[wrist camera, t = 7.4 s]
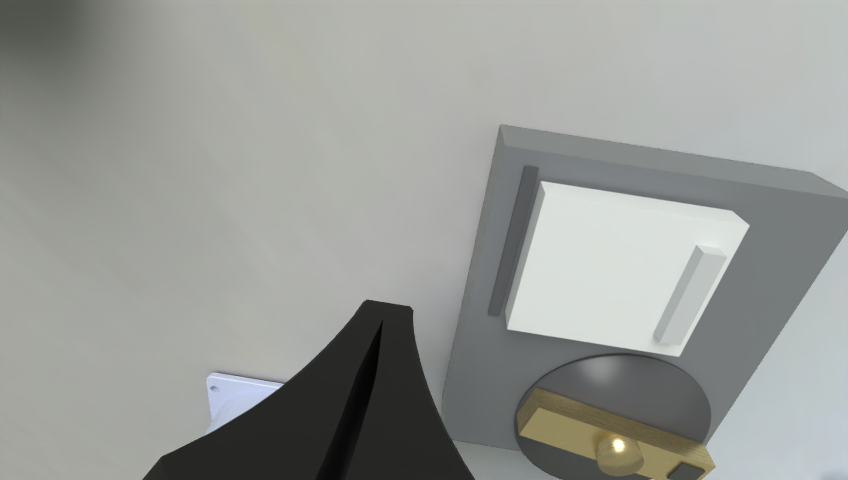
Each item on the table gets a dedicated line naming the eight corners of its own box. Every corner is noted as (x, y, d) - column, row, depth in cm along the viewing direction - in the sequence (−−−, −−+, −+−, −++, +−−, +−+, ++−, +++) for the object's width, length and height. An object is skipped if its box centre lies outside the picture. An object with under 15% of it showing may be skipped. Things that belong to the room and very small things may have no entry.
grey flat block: (653, 447, 27) (673, 499, 25) (438, 412, 28) (435, 460, 25) (811, 172, 19) (870, 203, 16) (500, 124, 19) (505, 147, 16)
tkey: (516, 414, 22) (520, 446, 21) (535, 387, 22) (540, 418, 20) (679, 468, 23) (694, 502, 22) (704, 444, 22) (721, 478, 21)
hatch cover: (667, 337, 19) (685, 367, 18) (505, 311, 20) (507, 338, 18) (731, 210, 17) (759, 233, 15) (540, 180, 17) (547, 200, 15)
